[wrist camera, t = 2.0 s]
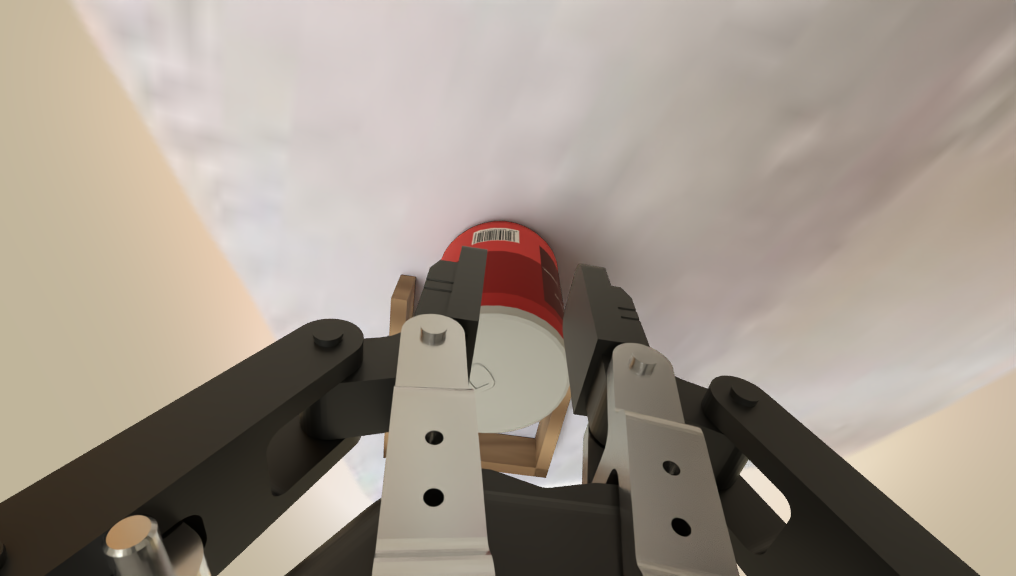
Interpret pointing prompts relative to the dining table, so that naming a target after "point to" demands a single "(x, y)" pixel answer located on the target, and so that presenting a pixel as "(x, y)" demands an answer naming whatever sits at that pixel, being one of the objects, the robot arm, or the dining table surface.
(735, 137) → the dining table surface
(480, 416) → the canned food
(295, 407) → the robot arm
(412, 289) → the corral
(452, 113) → the dining table surface
